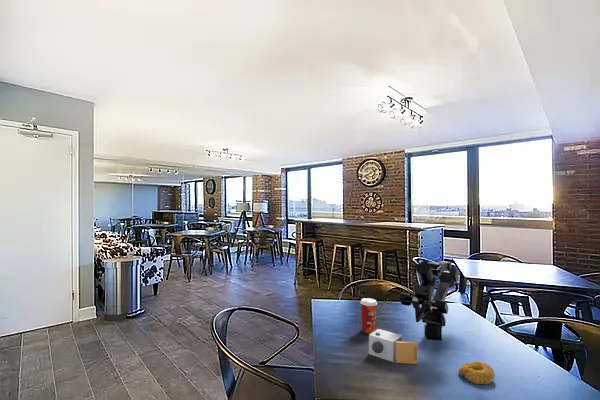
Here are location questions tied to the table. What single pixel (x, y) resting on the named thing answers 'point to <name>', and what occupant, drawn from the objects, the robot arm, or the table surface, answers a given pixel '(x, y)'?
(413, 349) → the side door
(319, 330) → the table surface
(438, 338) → the robot arm
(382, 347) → the white block
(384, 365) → the table surface
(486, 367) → the bagel
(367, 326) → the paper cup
